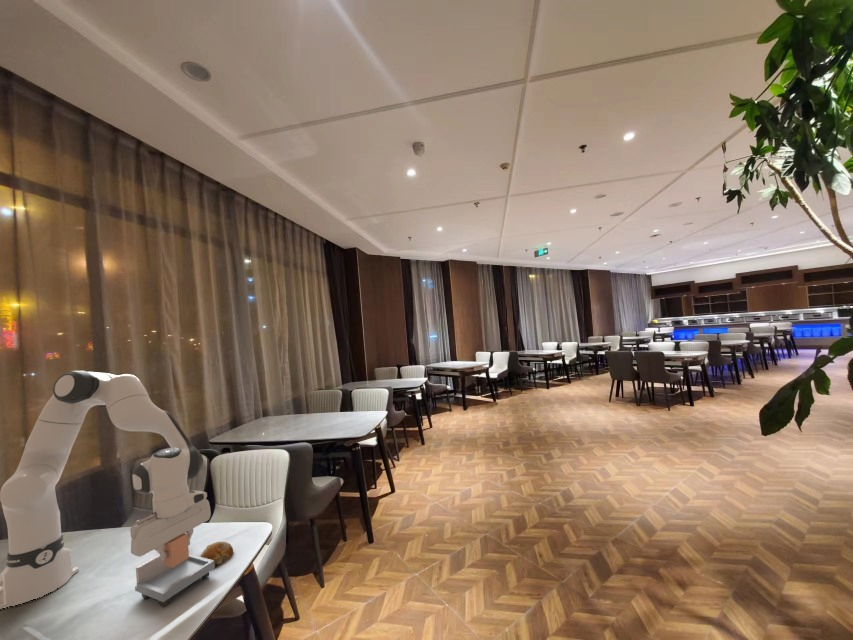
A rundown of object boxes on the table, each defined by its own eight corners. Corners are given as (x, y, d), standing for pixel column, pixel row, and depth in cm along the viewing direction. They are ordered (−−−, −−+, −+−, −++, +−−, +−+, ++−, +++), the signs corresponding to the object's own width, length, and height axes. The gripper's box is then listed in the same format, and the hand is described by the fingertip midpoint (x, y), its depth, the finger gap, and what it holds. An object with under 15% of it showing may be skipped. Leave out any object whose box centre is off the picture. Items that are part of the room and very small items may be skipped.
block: (163, 564, 101) (161, 540, 101) (180, 555, 105) (178, 531, 105) (172, 567, 99) (170, 543, 99) (189, 557, 103) (187, 534, 104)
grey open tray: (135, 599, 98) (133, 568, 99) (187, 567, 111) (185, 540, 111) (163, 611, 92) (161, 578, 93) (215, 576, 105) (213, 547, 105)
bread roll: (236, 564, 118) (237, 537, 122) (227, 568, 109) (228, 539, 113) (203, 572, 115) (205, 545, 119) (191, 577, 107) (194, 547, 110)
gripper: (136, 525, 92) (140, 578, 92) (211, 490, 111) (215, 534, 110) (123, 522, 95) (127, 573, 94) (199, 488, 113) (203, 531, 113)
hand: (175, 552), depth 102 cm, fingers closed on block, 4 cm apart
